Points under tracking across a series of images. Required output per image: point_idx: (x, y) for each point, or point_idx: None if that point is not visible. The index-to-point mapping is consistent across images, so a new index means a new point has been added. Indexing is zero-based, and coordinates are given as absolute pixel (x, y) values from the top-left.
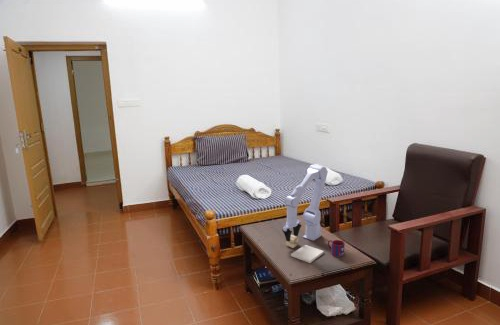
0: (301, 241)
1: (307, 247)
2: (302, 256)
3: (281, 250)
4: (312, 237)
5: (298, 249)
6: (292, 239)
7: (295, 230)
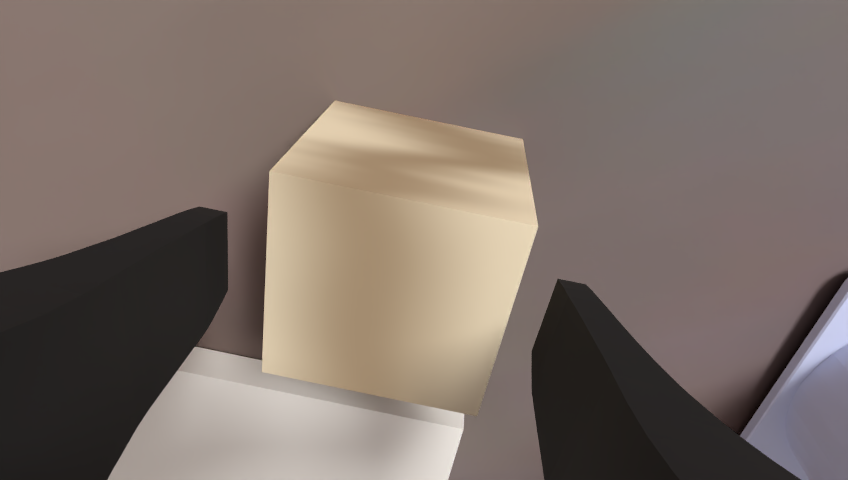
0: (640, 301)
1: (389, 472)
2: (115, 475)
3: (98, 109)
4: (801, 462)
5: (250, 389)
6: (276, 352)
7: (581, 454)
